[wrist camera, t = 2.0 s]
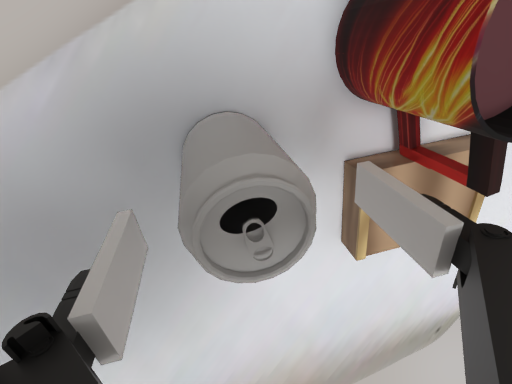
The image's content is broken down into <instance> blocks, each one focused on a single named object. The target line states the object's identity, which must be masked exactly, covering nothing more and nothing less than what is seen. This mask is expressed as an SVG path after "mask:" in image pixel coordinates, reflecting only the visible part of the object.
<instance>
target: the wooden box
mask: <svg viewBox="0 0 512 384" xmlns="http://www.w3.org/2000/svg"><path fill="white" fill-rule="evenodd" d="M470 136H471V134H470V135H466V136H461V137H456V138H452V139H447V140H442V141H437V142H433V143H428V144H423V145H420V146H422V147H424V148H427V149H429V150H432V151H434V152H436V153H439V154H441V155H443V156H446V157H448V158H450V159H453V160H455V161H457V162H460V163H462V164H464V165H467V166H468V164H469V150H470ZM365 161H370V162H372V163H373V164H375V165H376V166H378V167H379V168H381V169H382V170H384V171H385V172H387V173H388V174H390V175H392V176H393V177H395V178H396V179H398V180H399V181H401V182H402V183H404V184H405V185H407V186H408V187H410V188H411V189H413V190H415V191H416V192H418V193H419V194H427V195H429V196H432V197H435V198H437V199H438V200H440V201H441V202H443V203H444V204H446V205H448V206H449V207H451V209H454V210H456V211H457V212H459V213H461V214H462V215H464V216H465V217H467V218H469V219H470V220H472V221H473V222H475V223H476V220H477V218H478V215H479V212H480V209H481V206H482V203H483V200H484V197H485V196H484V195H482V194H480V193H478V192H476V191H474V190H472V189H470V188H468V187H466V186H464V185H462V184H460V183H458V182H456V181H454V180H452V179H450V178H448V177H446V176H444V175H442V174H440V173H438V172H436V171H434V170H432V169H428V168H426V167H424V166H422V165H420V164H418V163H416V162H414V161H412V160H410V159H408V158H406V157H404V156H402V155H400V153H399V150H395V151H390V152H386V153H381V154H376V155H371V156H367V157H362V158H357V159H352V160H348V161H345V165H344V189H343V213H342V238H341V241H342V243H343V244H344V245H345V246H346V248H347V249H348V250H349V252H350V253H351V254H352V255H353V257H354V258H355V259H356V260H357V261H358V260H361V259H365V258H366V256H368V255H372V254H375V253H379V252H383V251H387V250H391V249H394V248H398V247H400V246H399V245H398V244H397V243H396V242H395V241H394V240H393V239H392V238H391V237H390V236H389V235H388V234H387V233H386V232H385V231H384V230H383V229H382V228H381V227H380V226H379V225H378V224H376V223H375V222H374V221H373V220H372V219H371V218H370V217H369V216H368V215H367V214H366V213H365V212H364V211H363V210H362V209H361V208H360V207H359V206H358V205H357V204H356V203H355V188H356V172H357V163H360V162H365Z"/></svg>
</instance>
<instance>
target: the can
mask: <svg viewBox="0 0 512 384" xmlns="http://www.w3.org/2000/svg"><path fill="white" fill-rule="evenodd" d="M178 229H179V232H180V235H181V238H182V241H183V244H184V246H185V247H186V248H187V249H188V250H189V252H190V253H191V254H192V255H193V256H194V257H195V258H196V260H197V261H198V262H199V264H200V265H201V266H202V267H203V268H204V269H205V270H206V272H208V273H210V274H212V275H214V276H215V277H217V278H219V279H221V280H225V281H230V282H234V283H256V282H260V281H263V280H267V279H271V278H274V277H275V276H277V275H279V274H281V273H283V272H285V271H287V270H289V269H290V268H291V267H292V266H293V265H294V264H295V263H297V262H298V261H299V260H300V259H301V258H302V257H303V256H304V254H305V253H306V251H307V250H308V248H309V247H310V245H311V244H312V240H313V237H314V234H315V231H316V195H315V192H314V190H313V188H312V185H311V183H310V180H309V178H308V177H307V176H306V175H305V174H304V173H303V172H302V170H301V169H300V168H299V167H298V166H297V165H296V164H295V163H294V162H293V161H292V159H291V158H290V157H289V156H288V155H287V154H286V153H285V152H284V151H283V150H282V149H281V147H280V146H279V145H278V144H277V143H276V142H275V141H274V140H273V139H272V138H271V136H270V135H269V134H268V133H267V132H266V131H265V130H264V129H263V128H262V127H261V126H260V125H259V124H258V123H257V122H256V121H255V120H254V119H252V118H249V117H247V116H245V115H243V114H240V113H233V112H223V113H218V114H212V115H210V116H208V117H207V118H205V119H203V120H201V121H200V122H198V123H197V124H196V125H195V127H194V128H193V129H192V130H191V131H190V132H189V133H188V135H187V138H186V140H185V143H184V145H183V152H182V168H181V184H180V200H179V217H178Z"/></svg>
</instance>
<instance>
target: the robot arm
mask: <svg viewBox="0 0 512 384" xmlns="http://www.w3.org/2000/svg"><path fill="white" fill-rule="evenodd" d="M355 203H356V204H357V205H358V206H359V207H360V208H361V209H362V210H363V211H364V212H365V213H366V214H367V215H368V216H369V217H370V218H371V219H372V220H373V221H374V222H375V223H376V224H378V225H379V226H380V227H381V228H382V229H383V230H384V231H385V232H386V233H387V234H388V235H389V236H390V237H391V238H392V239H393V240H394V241H395V242H396V243H397V244H398V245H399V246H400V247H401V248H402V249H403V250H404V251H405V252H406V253H407V254H408V255H409V256H410V257H412V258H413V259H414V260H415V261H416V262H417V263H418V264H419V265H420V266H421V267H422V268H423V269H424V270H425V271H426V272H427V273H428V274H429V275H430V276H431V277H432V278H434V277H437V276H441V275H445V274H448V273H449V269H450V266H451V263H452V264H453V265H455V266H456V267H457V268H458V272H457V275H456V278H455V281H454V284H453V288H455V289H456V286H457V285H458V296H459V308H460V319H461V330H462V341H463V353H464V364H465V376H466V384H512V233H511V232H510V231H508V230H507V229H505V228H503V227H500V226H498V225H493V224H487V223H481V224H477V223H475V222H473V221H472V220H470V219H469V218H467V217H465V216H464V215H462V214H461V213H459V212H457V211H456V210H454V209H451V207H449V206H448V205H446V204H444V203H443V202H441V201H440V200H438V199H437V198H435V197H432V196H429V195H427V194H419V193H418V192H416V191H415V190H413V189H411V188H410V187H408V186H407V185H405V184H404V183H402V182H401V181H399V180H398V179H396V178H395V177H393V176H392V175H390V174H388V173H387V172H385V171H384V170H382V169H381V168H379V167H378V166H376V165H375V164H373V163H372V162H370V161H365V162H360V163H357V172H356V188H355ZM147 251H148V246H147V244H146V242H145V239H144V237H143V235H142V232H141V230H140V227H139V225H138V223H137V220H136V218H135V215H134V213H133V211H132V209H131V210H126V211H121V212H117V214H116V216H115V218H114V221H113V223H112V225H111V227H110V229H109V231H108V233H107V235H106V238H105V240H104V242H103V244H102V246H101V248H100V250H99V252H98V255H97V257H96V259H95V261H94V263H93V265H92V267H91V269H89V270H84V271H81V272H80V273H79V274H78V275H77V276H76V277H75V278H74V279H73V280H72V281H71V283H70V285H69V286H68V288H67V290H66V293H65V294H64V296H63V298H62V301H61V302H60V303H59V305H58V307H57V309H56V311H55V313H54V315H53V317H51V315H49V314H47V313H38V314H35V315H32V316H30V317H28V318H26V319H24V320H22V321H21V322H19V323H18V324H17V325H16V326H14V327H13V328H12V329H11V330H10V331H9V332H8V334H7V335H6V336H5V338H4V340H3V342H2V349H3V350H4V351H5V352H6V353H7V354H8V355H9V356H10V357H11V358H12V359H13V360H11V361H9V362H7V363H5V364H3V365H1V366H0V384H102V382H101V381H100V379H99V378H98V377H97V375H96V374H95V372H94V371H93V370H92V368H91V367H92V364H93V361H94V358H95V357H96V359H97V360H98V362H99V363H100V364H101V365H104V364H108V363H111V362H115V361H119V360H122V358H123V353H124V349H125V345H126V341H127V336H128V332H129V328H130V323H131V319H132V315H133V311H134V306H135V302H136V298H137V293H138V289H139V285H140V281H141V276H142V272H143V268H144V263H145V259H146V255H147Z"/></svg>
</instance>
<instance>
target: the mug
mask: <svg viewBox="0 0 512 384" xmlns="http://www.w3.org/2000/svg"><path fill="white" fill-rule="evenodd" d="M335 55H336V63H337V68H338V71H339V74H340V77H341V79H342V80H343V82H344V84H345V86H346V87H347V88H348V89H349V90H350V91H351V92H352V93H353V94H354V95H356V96H357V97H359V98H361V99H364V100H367V101H370V102H373V103H376V104H380V105H383V106H386V107H390V108H393V109H397V117H398V130H399V143H400V144H399V153H400V155H402V156H404V157H406V158H408V159H410V160H412V161H414V162H416V163H418V164H420V165H422V166H424V167H426V168H428V169H432V170H434V171H436V172H438V173H440V174H442V175H444V176H446V177H448V178H450V179H452V180H454V181H456V182H458V183H460V184H462V185H464V186H466V187H468V188H470V189H472V190H474V191H476V192H478V193H480V194H482V195H484V196H486V197H488V196H490V195H493V194H495V193H498V192H499V191H500V186H501V182H502V176H503V169H504V163H505V156H506V149H507V143H508V142H510V143H512V0H350V1H349V2H348V4H347V6H346V8H345V10H344V12H343V15H342V18H341V20H340V23H339V26H338V31H337V36H336V48H335ZM420 117H423V118H427V119H430V120H433V121H437V122H440V123H443V124H447V125H450V126H453V127H457V128H460V129H463V130H467V131H470V132H471V136H470V150H469V164H468V166H467V165H464V164H462V163H460V162H457V161H455V160H453V159H450V158H448V157H446V156H443V155H441V154H439V153H436V152H434V151H432V150H429V149H427V148H424V147H422V146H420Z"/></svg>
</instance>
